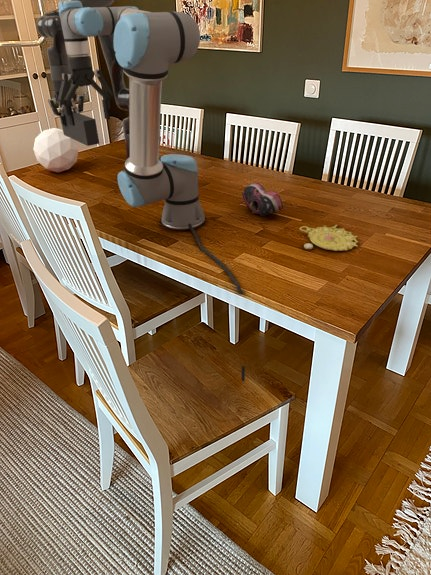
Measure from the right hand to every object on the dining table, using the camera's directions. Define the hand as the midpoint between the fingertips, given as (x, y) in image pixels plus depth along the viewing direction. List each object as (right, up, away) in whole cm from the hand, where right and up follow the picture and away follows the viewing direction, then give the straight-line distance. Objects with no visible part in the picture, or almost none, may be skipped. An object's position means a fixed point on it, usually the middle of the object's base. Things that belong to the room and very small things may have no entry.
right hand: (90, 122), depth 159 cm
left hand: (-12, +5, +16) cm, 21 cm away
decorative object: (+81, -44, -18) cm, 94 cm away
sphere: (-28, -4, +51) cm, 58 cm away
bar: (-7, -2, +14) cm, 16 cm away
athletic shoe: (+61, -32, +3) cm, 68 cm away
